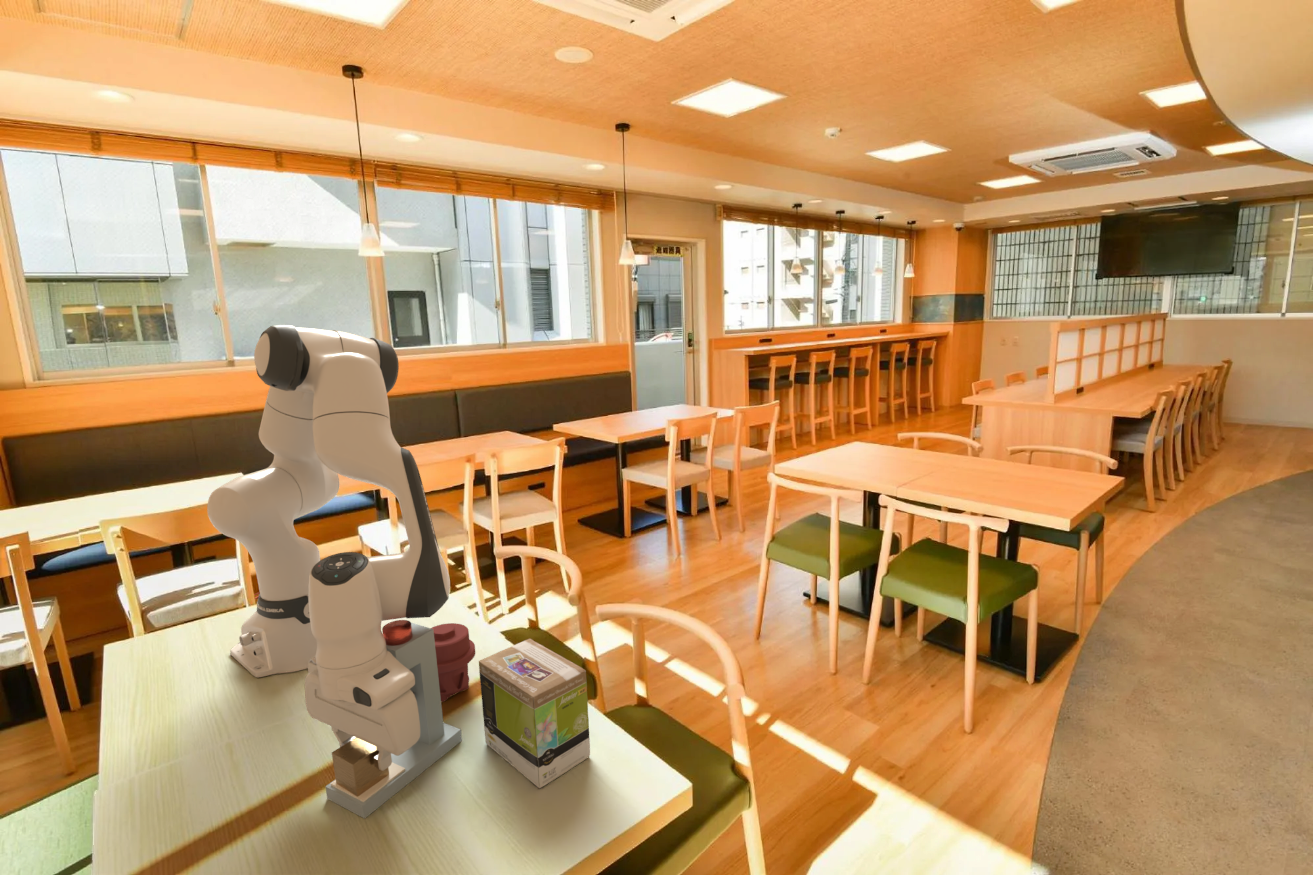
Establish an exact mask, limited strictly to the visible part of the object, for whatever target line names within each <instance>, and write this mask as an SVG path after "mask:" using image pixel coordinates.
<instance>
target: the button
mask: <svg viewBox="0 0 1313 875" xmlns="http://www.w3.org/2000/svg"><path fill="white" fill-rule="evenodd" d="M411 623H412V622H411V621H410V620H407V619H396V620H394V621H393V620H392V621H391V622H388V623H386V624H385V625H384V626H382V627H381V631H382V634H383V636H384V638H385V641H386V645H389V646H396V645H401V644H404V643H406V642H408V641H410V640H411V639H412V637H413V635H412V626H411ZM410 690H411V688H410ZM412 692H413V691H412ZM413 694H414V696H415V693H414V692H413Z"/></svg>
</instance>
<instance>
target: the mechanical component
mask: <svg viewBox="0 0 1313 875" xmlns="http://www.w3.org/2000/svg"><path fill="white" fill-rule="evenodd" d="M430 628H431V629H433V631H434V640H435V650H436V659H437V668H438V678H439V687H440V696H441V703H444V702H446V701H447V700H448V699H449V698H451V697H452V696H454V695H456V694H458V693H460V692H463V691H466V690H468V689H469V688H470V685H469V684H470V683H469V682H470V676H469V663H470V662H471V661H472V660H473V659H474V658H475V656H476V644H475V642H474V641H472V640H471V639H470V630H469V629H468V627H467V626H466V625H464V624H461V623H455V622H454V623H449V622H448V623H442V624H437V625H434V626H432V627H430Z"/></svg>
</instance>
